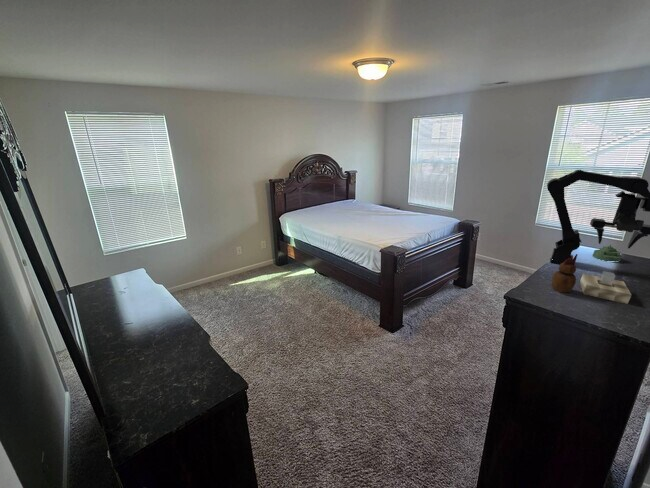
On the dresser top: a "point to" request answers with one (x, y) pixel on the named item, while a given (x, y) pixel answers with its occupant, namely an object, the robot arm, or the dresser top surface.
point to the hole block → (605, 289)
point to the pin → (607, 278)
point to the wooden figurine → (565, 276)
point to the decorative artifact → (607, 254)
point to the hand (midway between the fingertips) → (613, 245)
